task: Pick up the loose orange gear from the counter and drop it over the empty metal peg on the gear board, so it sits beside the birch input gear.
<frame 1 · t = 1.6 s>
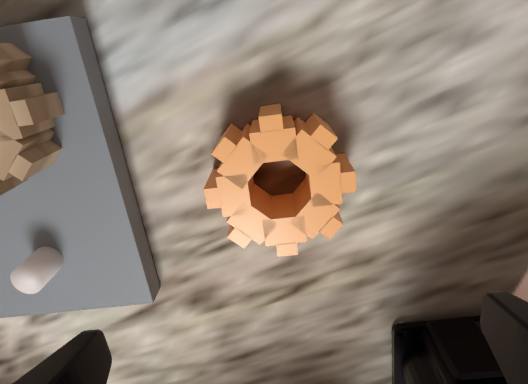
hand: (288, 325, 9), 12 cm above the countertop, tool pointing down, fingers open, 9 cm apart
orange gear: (278, 170, 20), on the countertop
gear board: (39, 181, 21), on the countertop
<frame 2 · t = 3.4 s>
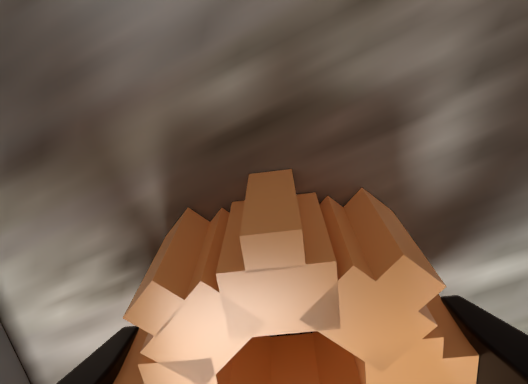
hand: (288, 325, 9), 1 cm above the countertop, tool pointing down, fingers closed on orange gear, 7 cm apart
orange gear: (286, 293, 10), on the countertop, touching gripper
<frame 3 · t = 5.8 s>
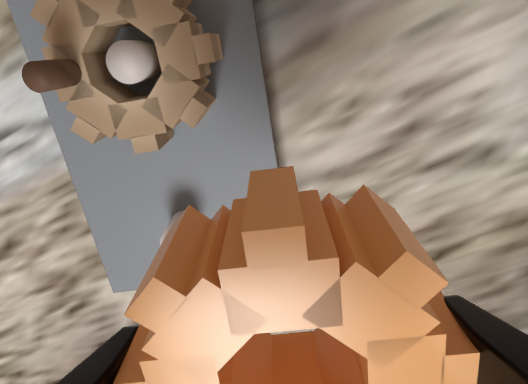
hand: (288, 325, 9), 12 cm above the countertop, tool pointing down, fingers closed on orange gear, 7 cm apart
orange gear: (287, 291, 10), point 10 cm above the countertop, touching gripper
gear board: (174, 141, 19), on the countertop
birch input gear: (143, 60, 16), resting on gear board
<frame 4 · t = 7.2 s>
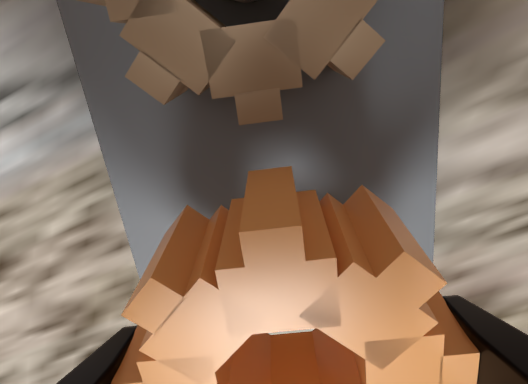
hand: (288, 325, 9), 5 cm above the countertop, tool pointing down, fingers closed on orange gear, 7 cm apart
orange gear: (285, 291, 10), point 4 cm above the countertop, touching gripper
gear board: (265, 114, 12), on the countertop
when the fingers open (4 cm above the countertop, at t = 8.5 s): orange gear drops 1 cm, resting on gear board.
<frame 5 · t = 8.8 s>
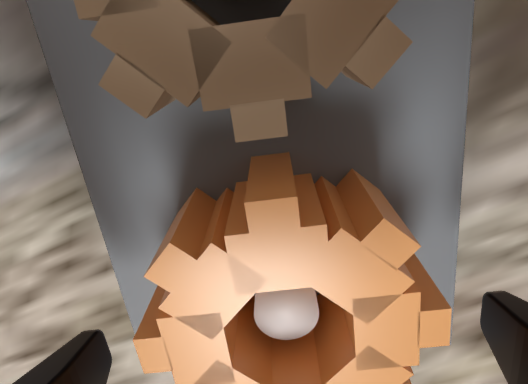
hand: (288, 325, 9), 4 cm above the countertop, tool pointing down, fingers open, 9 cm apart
orange gear: (285, 266, 11), point 1 cm above the countertop, touching gear board
gear board: (266, 124, 11), on the countertop
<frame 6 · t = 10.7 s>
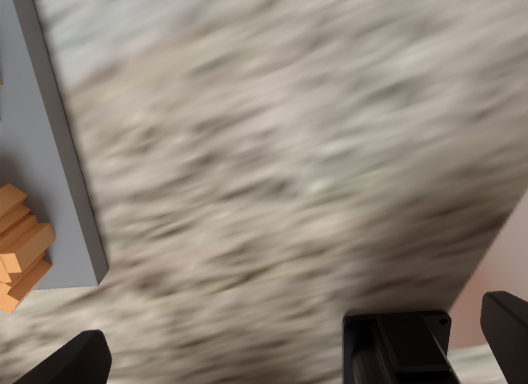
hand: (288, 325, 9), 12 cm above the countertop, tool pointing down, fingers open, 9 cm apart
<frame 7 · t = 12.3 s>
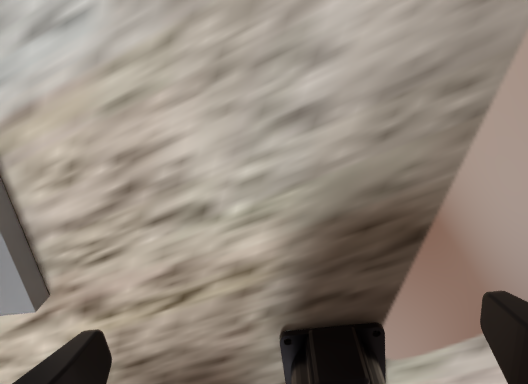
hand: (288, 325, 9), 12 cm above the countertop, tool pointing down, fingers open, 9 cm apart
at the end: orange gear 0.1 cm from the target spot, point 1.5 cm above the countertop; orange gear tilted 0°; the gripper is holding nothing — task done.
